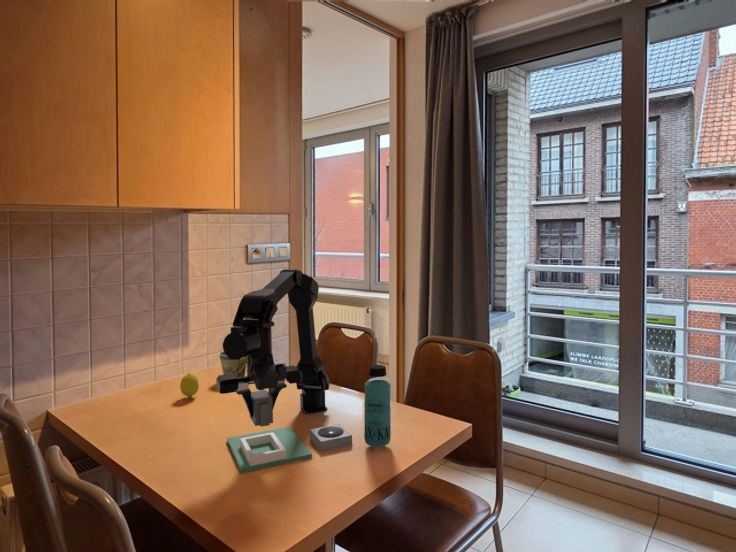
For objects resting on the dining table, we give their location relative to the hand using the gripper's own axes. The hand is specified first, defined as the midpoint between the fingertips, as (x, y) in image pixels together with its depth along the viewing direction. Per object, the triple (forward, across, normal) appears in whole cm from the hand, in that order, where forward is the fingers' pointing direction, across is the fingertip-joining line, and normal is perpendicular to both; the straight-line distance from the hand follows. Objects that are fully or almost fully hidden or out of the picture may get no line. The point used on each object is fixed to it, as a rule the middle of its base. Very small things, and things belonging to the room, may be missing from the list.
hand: (261, 415), depth 109 cm
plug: (+1, 0, 0) cm, 1 cm away
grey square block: (+10, +17, -1) cm, 19 cm away
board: (+10, +2, +2) cm, 10 cm away
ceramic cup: (+10, +6, +63) cm, 64 cm away
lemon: (+10, -11, +51) cm, 54 cm away
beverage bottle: (+10, +26, -9) cm, 29 cm away
